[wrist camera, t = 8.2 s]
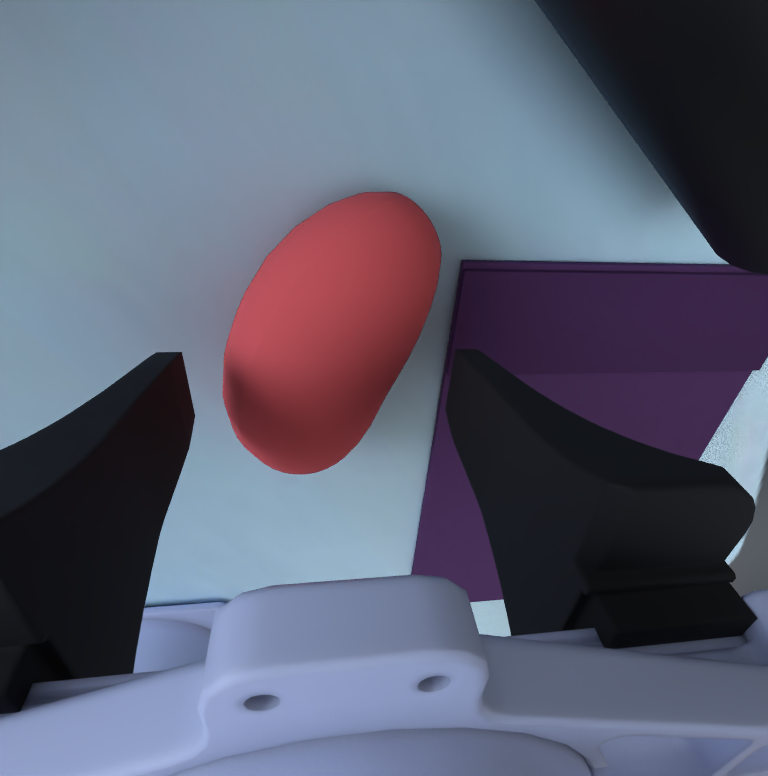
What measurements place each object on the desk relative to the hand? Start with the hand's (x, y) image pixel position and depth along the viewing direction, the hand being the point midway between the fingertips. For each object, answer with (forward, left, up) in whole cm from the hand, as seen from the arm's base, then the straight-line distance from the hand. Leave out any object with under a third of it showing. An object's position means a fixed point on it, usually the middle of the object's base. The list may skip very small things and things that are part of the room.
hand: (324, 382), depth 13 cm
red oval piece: (0, 0, -4) cm, 4 cm away
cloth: (-8, -11, -4) cm, 14 cm away
